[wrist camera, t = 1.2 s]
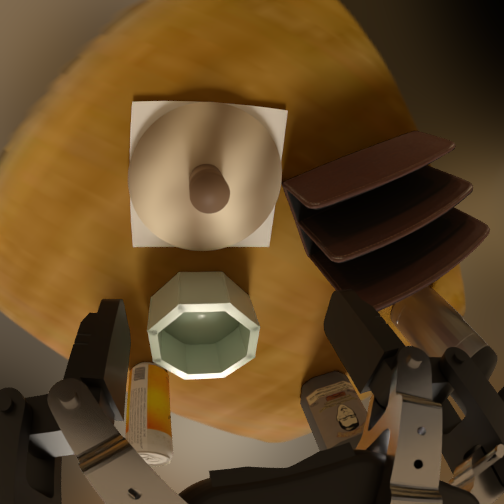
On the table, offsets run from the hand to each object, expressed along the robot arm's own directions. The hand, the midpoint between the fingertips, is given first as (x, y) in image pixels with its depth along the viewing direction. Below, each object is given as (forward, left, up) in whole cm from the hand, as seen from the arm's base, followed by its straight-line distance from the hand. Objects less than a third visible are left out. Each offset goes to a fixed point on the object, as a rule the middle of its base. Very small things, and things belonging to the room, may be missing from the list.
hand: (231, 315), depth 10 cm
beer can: (+8, +28, -20) cm, 36 cm away
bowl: (0, +16, -20) cm, 26 cm away
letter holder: (-19, -1, -21) cm, 28 cm away
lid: (0, -1, -20) cm, 20 cm away
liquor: (-23, +37, -20) cm, 49 cm away
